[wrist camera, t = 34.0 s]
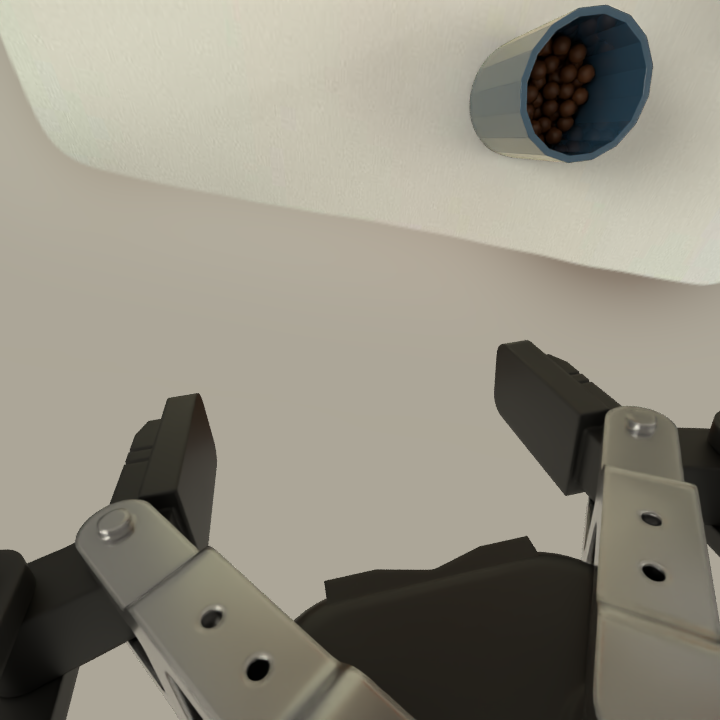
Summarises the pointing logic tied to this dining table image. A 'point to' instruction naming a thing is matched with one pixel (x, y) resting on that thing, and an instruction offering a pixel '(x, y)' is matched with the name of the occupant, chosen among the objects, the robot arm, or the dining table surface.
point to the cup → (593, 118)
